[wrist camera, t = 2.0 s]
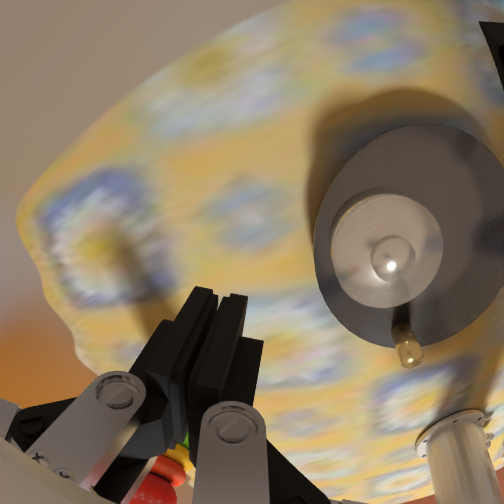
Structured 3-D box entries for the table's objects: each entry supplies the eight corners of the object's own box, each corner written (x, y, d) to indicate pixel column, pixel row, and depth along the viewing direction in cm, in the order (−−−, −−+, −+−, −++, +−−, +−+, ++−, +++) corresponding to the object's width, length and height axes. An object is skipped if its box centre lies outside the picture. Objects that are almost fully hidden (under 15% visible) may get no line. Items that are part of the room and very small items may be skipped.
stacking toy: (183, 351, 33) (116, 493, 16) (241, 386, 34) (205, 530, 17) (156, 382, 36) (97, 500, 19) (207, 412, 37) (168, 533, 20)
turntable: (528, 166, 18) (565, 178, 13) (464, 345, 26) (483, 378, 21) (338, 95, 20) (350, 84, 15) (291, 324, 28) (289, 364, 23)
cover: (436, 200, 20) (461, 215, 16) (407, 291, 23) (423, 319, 19) (340, 176, 21) (351, 186, 17) (318, 276, 24) (321, 304, 20)
